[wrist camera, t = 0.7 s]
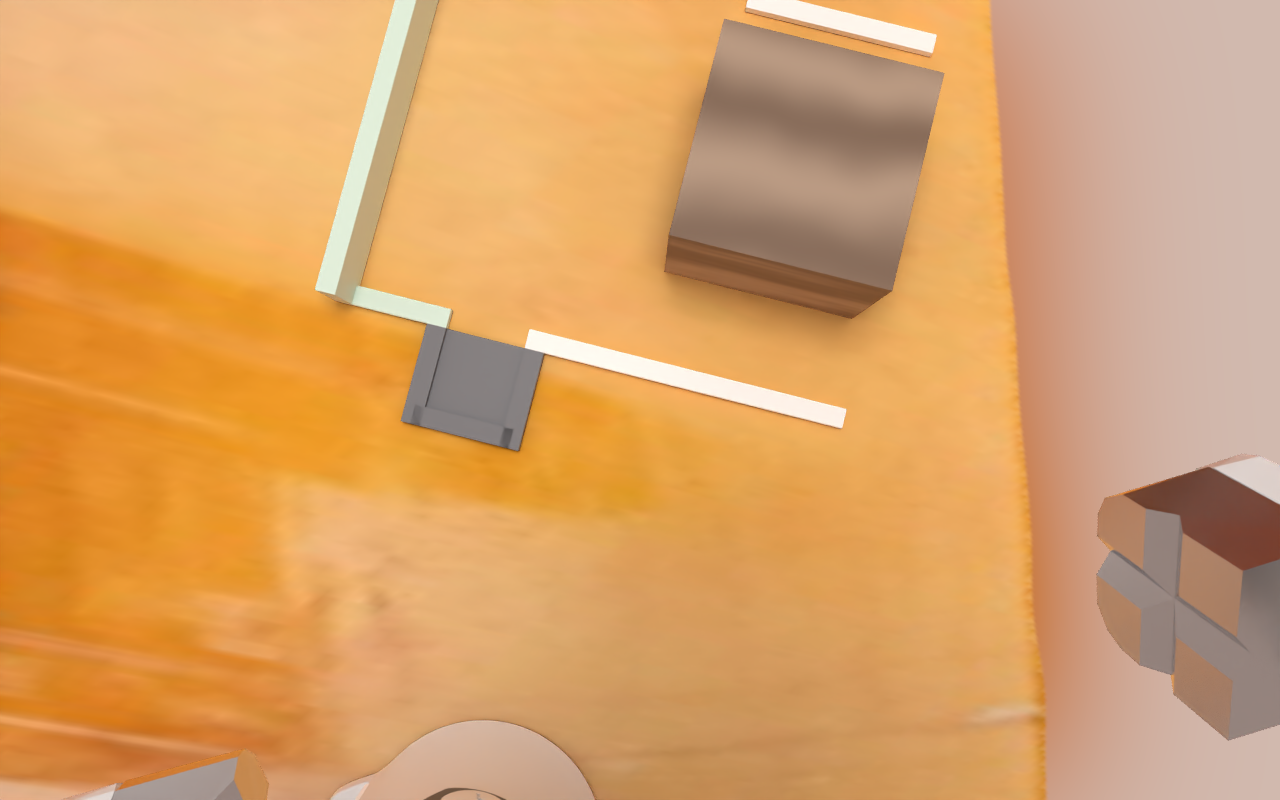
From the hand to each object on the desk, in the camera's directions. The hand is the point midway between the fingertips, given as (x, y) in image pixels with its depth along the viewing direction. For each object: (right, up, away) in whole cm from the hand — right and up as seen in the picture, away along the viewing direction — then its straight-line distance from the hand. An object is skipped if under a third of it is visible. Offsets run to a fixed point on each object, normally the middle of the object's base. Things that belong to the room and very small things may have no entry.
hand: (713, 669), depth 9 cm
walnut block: (+8, +15, +53) cm, 56 cm away
